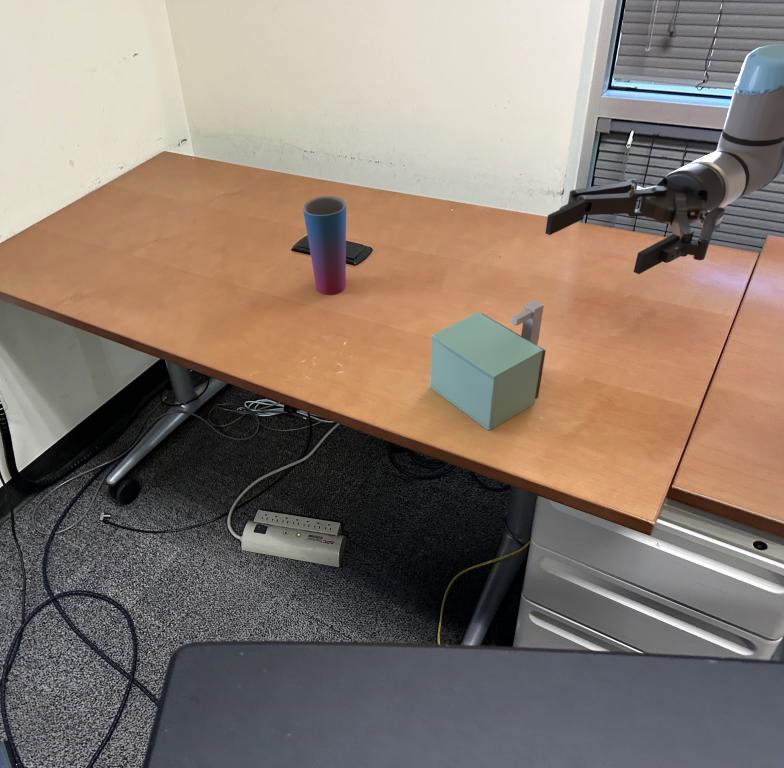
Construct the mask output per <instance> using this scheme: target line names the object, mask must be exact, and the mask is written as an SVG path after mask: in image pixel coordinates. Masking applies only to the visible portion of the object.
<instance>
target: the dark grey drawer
mask: <svg viewBox="0 0 784 768" xmlns="http://www.w3.org/2000/svg"><path fill="white" fill-rule="evenodd" d="M544 306H545V305H544V304H543V303H542V302H539V301H537V300H536V299H533V300H531V301H529V302H527V303H525V304H524V309H523V310H521V311H520V312H518V313H515V314H513V315H512V316H511V317H510V324H513V325H514V326H516V327H517V326H519V325H521V324H522V328H521V335H520V334H518V333H517V332H515V331H513V330H512V329H510V328H508V327H507V326H505V325H503V324H502V323H500V322H498V321H496V320H495V319H493V318H491V317H490V316H489V315H486V314H484V313H481V312H480V313H481V314H483V315H484V316H486V317H488V318H489V319H491V320H493V321H495V322H496V323H498V324H500V325H501V326H503V327H505V328H506V329H508V330H510V331H512V332H513V333H515V334H517V335H518V336H520V337H522V338H524V339H525V340H527V341H529V342H530V343H532V344H534V345H535V346H537V347H539V348H541V349H542V350H543V352H542V358H541V364H540V370H539V377H538V383H537V389H536V395H535V400H536V399H538V398H539V394H540V388H541V381H542V375H543V369H544V363H545V357H546V352H547V350H546V349H544V348H543V347H541V346H539V345H538V344H539V339H540V332H541V325H542V318H543V315H544Z"/></svg>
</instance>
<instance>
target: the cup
mask: <svg viewBox="0 0 784 768" xmlns="http://www.w3.org/2000/svg"><path fill="white" fill-rule="evenodd" d="M302 211H303V217H304V224H305V230H306V236H307V240H308V241H307V242H308V248H309V253H310V259H311V264H312V271H313V276H314V283H315V289H316V291H317V292H318V293H319V294H322V295H327V296H328V295H331V296H332V295H336V294H339V293H342V292H343V291H344V290H345V289H346V283H347V282H346V280H347V278H346V277H347V274H346V273H347V270H346V269H347V202H346V200H344V199H343V198H341V197H338V196H333V195H325V196H324V195H323V196H318V197H315V198H312V199H309V200H308V201H306V202H305V203H304V204H303V207H302Z"/></svg>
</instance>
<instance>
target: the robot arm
mask: <svg viewBox="0 0 784 768" xmlns="http://www.w3.org/2000/svg"><path fill="white" fill-rule="evenodd" d="M724 121H725V122H724V125H723V129H722V132H721V134H720V137H719V140H718V144H717V147H716V150H715V151H713V152H711V153H709V154H707V155H704V156H703V157H700V158H698V159H696V160H694V161H692V162H690V163H688V164H686V165H683V166H682V167H679V168H678V169H676V170H674V171H672V172H669V173H668V174H666V175H665V176H664V177H663V178H662V179H661V180H660V181H659V182H658V183H657V184H655V185H653V186H647V187H645V188H644V187H642V186H639V179H638V178H630V179H627V180H624V181H622V182H614V183H610V184H603V185H597V186H590V187H584V188H577V189H571V190H570V191H569V193H568V194H569V195H568V201H567V204H565V205H562V206H561V207H559V209H558V210H556V211H554V212H552V213H549V214H547V219H546V225H545V226H546V227H545V235H548V236H552V235H553V234H555V233H558V232H560V231H563V230H564V229H566V228H568V227H570V226H572V225H575V224H576V223H578V222H580V221H582V220H584V218H585V216H598V215H624V214H625V215H626V214H627V215H628V216H629V217H631V218H633V217H635V218H636V217H645V218H649V219H652V220H655V221H656V222H658V223H662V224H663V223H667V225H668V226H669V232H670V233H671V235H668V236H667V237H665V238H663V239H662V240H660V241H657V242H656V243H654V244H651V245H649V246H648V247H646V248H644V249H642V250H640V251H639V252H637V257H636V260H635V264H634V268H633V273H635V274H637V275H641V274H642V273H644V272H646V271H648V270H650V269H652V268H654V267H655V266H657V265H659V264H661V263H665V264H667V263H670V262H673V261H675V260H676V259H678V258H680V257H681V258H682V257H687V256H688V255H689V256H693V257H692V258H693V259H694V260H696V261H703V260H705V259H706V255H707V252H708V249H709V246H710V244H711V243H710V242H711V239H712V236H713V233H714V232H715V231H717V230H718V229H719V228H720V227H721V224H722V221H723V217H724V214H725V211H726V209H725V207H726V206H728V205H730V204H732V203H734V202H736V201H738V200H740V199H742V198H744V197H746V196H748V195H750V194H752V193H754V192H756V191H760V190H761V189H763V188H766V187H767V186H768V185H769V184H771V183H772V182H774V181H775V180H776V179H779V177H780V176H782V175H783V174H784V44H783V43H782V44H780V43H779V44H778V43H777V44H769V45H763V46H760V47H757V48H755V49H754V50H752V51H750V52H749V53H748V54H747V55H746V57H745V59H744V61H743V63H742V66H741V68H740V71H739V74H738V76H737V79H736V82H735V84H734V86H733V92H732V96H731V100H730V102H729V107H728V111H727V115H726V118H725V120H724ZM638 199H639V208H636V207H637V204H638ZM698 221H700V222H699V223H700V224H701V231H700V234H699V237H698V239H693V237H694V234H695V231H692V228H691V224H695V223H697V222H698Z"/></svg>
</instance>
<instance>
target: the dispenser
mask: <svg viewBox="0 0 784 768" xmlns="http://www.w3.org/2000/svg"><path fill="white" fill-rule="evenodd" d="M483 314H484V313H483ZM483 314H481V312H479V311H477V312H474V313H473V314H470V315H469V316H467V317H464V318H462V319H461V320H458V321H457V322H454V323H453V324H451V325H449V326H447V327H445V328H443V329H441V330H439V331H437V332H435V333H433V334H431V353H430V355H431V356H430V358H431V359H430V384H429V386H430V387H429V388H430V389H432V390H433V391H434V392H436V393H437V394H438V395H440V396H441V397H442V398H444V399H445V400H446V401H448V402H449V403H450V404H452V405H453V406H455V407H456V408H457V409H458V410H460V411H461V412H462V413H464V414H465V415H467V417H469V418H471V420H473V421H475V422H476V423H478V424H479V425H480V426H481V427H482V428H484V429H486V431H491V430H493V429H494V428H496V427H498V426H499V425H502V424H503V423H504V422H506V421H508V420H510V419H512V418H513V417H515V416H517V415H518V414H520V413H522V412H523V411H525V410H527V409H528V408H530V407H533V406H534V405H535V401H536V399H535V395H536V389H537V383H538V377H539V370H540V364H541V358H542V352H543V350H542V349H543V348H542V347H541V348H542V349H541V348H539V347H540V346H539V347H537V346H535V345H534V344H532V343H530V342H529V341H527V340H525V339H524V338H522V337H520V336H521V335H520V336H518V335H517V334H518V333H517V334H515V333H516V332H515V333H513V332H514V331H513V330H512V331H513V332H512V331H510V330H511V329H510V330H508V329H509V328H508V329H506V328H505V327H506V326H505V327H503V326H504V325H503V326H501V325H502V324H501V323H500V324H501V325H500V324H498V323H499V322H498V323H496V322H497V321H496V320H495V321H496V322H495V321H493V320H494V319H493V320H491V319H492V318H491V319H489V318H488V317H489V316H488V317H486V316H487V315H486V316H484V315H485V314H484V315H483Z"/></svg>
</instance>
